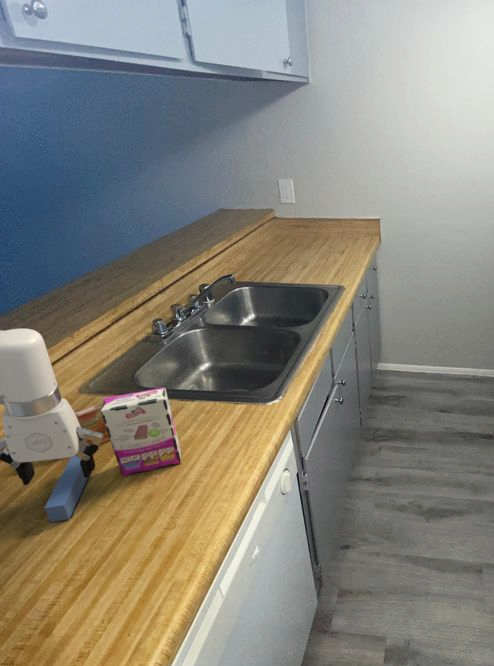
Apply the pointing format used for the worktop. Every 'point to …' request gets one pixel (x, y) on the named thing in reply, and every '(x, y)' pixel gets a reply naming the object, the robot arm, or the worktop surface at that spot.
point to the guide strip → (79, 497)
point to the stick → (66, 491)
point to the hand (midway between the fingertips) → (59, 476)
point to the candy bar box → (141, 431)
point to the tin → (93, 422)
